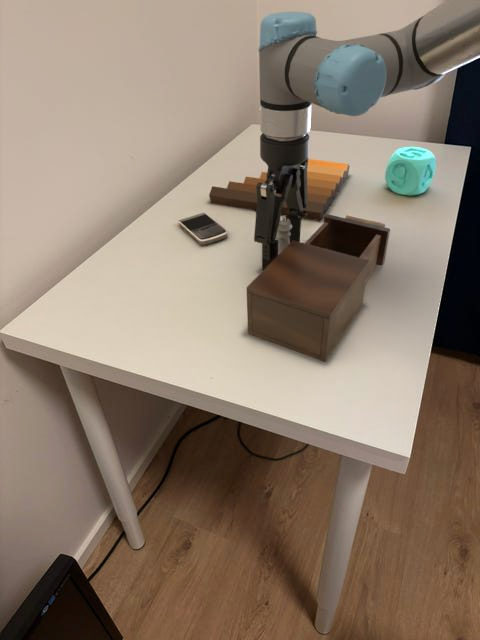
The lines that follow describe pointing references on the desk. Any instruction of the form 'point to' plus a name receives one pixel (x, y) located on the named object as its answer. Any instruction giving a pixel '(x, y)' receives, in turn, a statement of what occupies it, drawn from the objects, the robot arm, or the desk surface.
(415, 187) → the decorative dice
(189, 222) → the cell phone
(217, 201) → the pan flute
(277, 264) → the cabinet
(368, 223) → the drawer
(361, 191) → the desk surface
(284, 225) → the rook chess piece
